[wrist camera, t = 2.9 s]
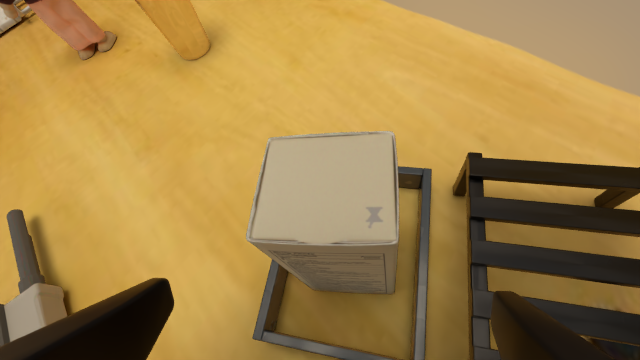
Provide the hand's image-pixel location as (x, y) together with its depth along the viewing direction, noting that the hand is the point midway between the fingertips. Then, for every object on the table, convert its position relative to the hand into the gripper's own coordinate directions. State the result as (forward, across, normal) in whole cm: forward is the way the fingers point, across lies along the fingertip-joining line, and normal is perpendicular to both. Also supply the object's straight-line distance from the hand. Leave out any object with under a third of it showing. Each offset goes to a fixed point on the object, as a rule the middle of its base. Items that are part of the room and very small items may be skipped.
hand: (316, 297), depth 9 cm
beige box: (+10, 0, +5) cm, 11 cm away
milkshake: (+25, +16, -10) cm, 31 cm away
